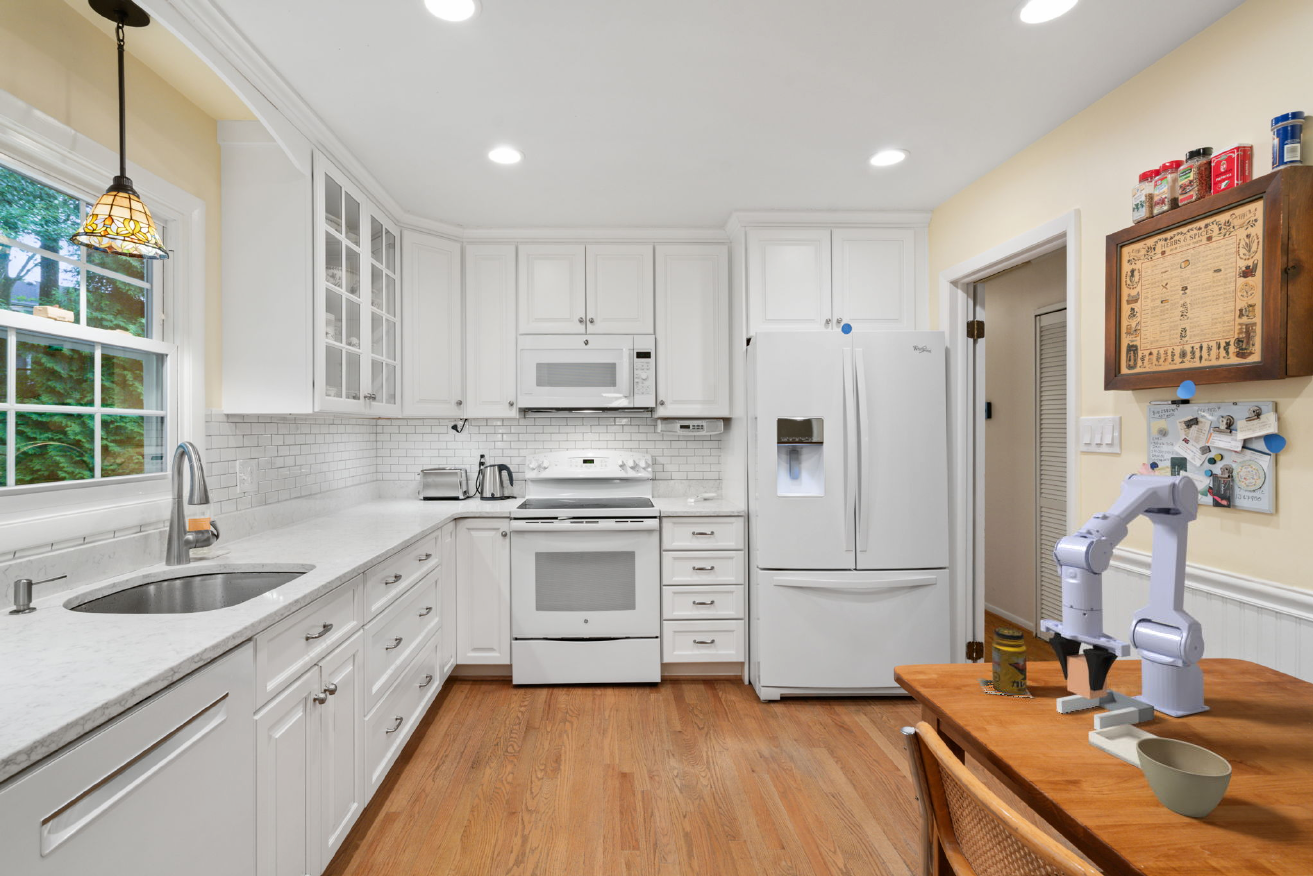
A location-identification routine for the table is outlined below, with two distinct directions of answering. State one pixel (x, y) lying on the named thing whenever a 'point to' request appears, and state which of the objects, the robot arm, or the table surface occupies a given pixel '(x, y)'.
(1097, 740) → the tray
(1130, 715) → the channel
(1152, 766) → the beige bowl
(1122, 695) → the grey u-shaped piece
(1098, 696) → the block
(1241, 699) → the table surface
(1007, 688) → the condiment
